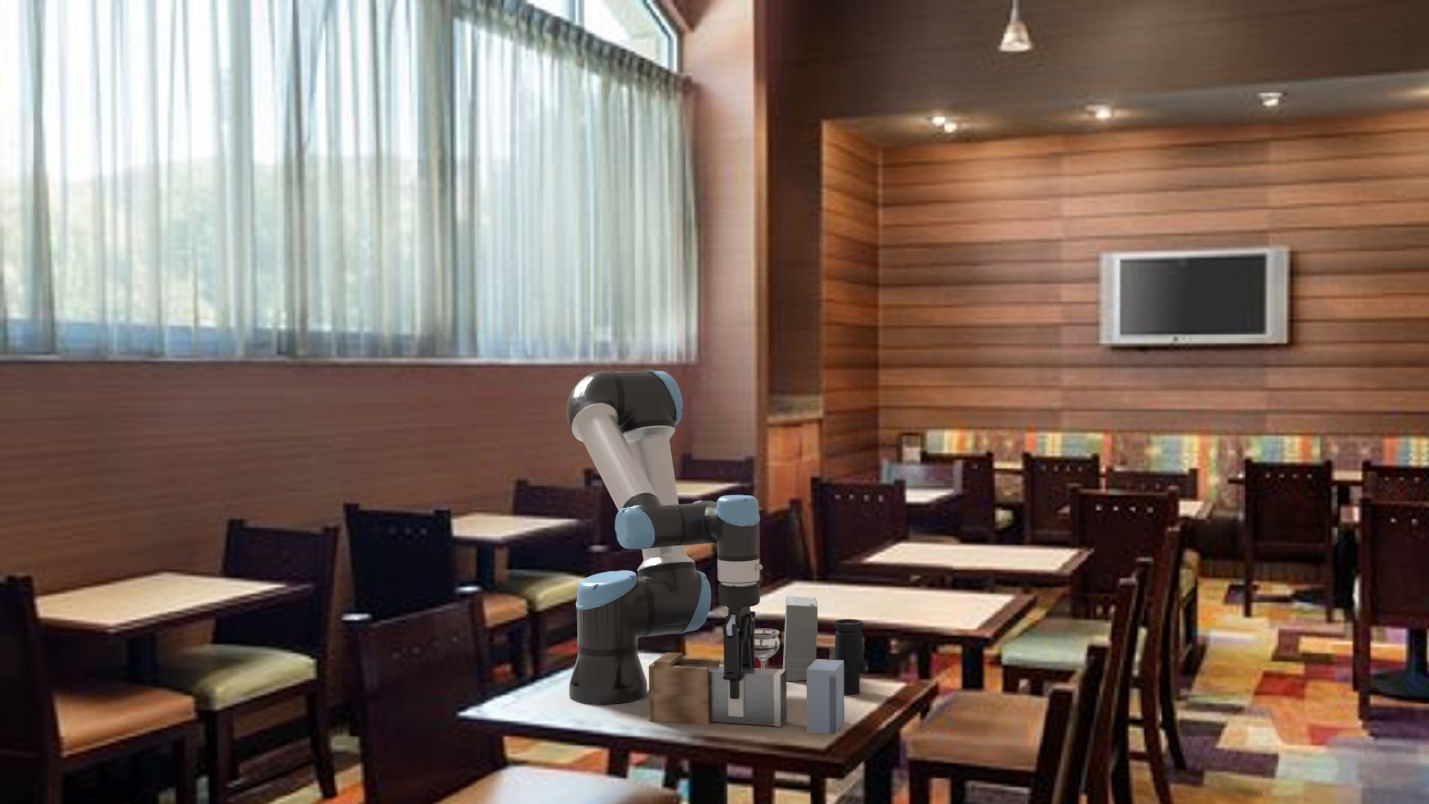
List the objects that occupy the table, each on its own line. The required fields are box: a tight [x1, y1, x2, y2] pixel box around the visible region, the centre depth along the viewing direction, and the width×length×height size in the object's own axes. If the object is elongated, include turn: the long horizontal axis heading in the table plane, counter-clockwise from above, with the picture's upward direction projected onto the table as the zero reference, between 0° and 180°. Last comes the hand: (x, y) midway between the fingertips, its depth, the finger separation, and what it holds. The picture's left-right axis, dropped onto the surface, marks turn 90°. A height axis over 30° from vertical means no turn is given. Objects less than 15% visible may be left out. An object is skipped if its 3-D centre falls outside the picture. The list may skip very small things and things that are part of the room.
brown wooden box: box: [648, 651, 721, 726], centre depth 239 cm, size 11×8×11 cm
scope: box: [825, 618, 870, 696], centre depth 256 cm, size 8×14×10 cm
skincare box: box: [782, 596, 819, 682], centre depth 269 cm, size 8×7×16 cm
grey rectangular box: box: [672, 663, 788, 728], centre depth 237 cm, size 21×5×9 cm, turn 74°
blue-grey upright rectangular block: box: [806, 658, 845, 735], centre depth 232 cm, size 5×8×11 cm, turn 164°
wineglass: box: [754, 628, 781, 669], centre depth 256 cm, size 7×7×12 cm
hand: (740, 711), depth 237 cm, fingers closed on grey rectangular box, 4 cm apart
